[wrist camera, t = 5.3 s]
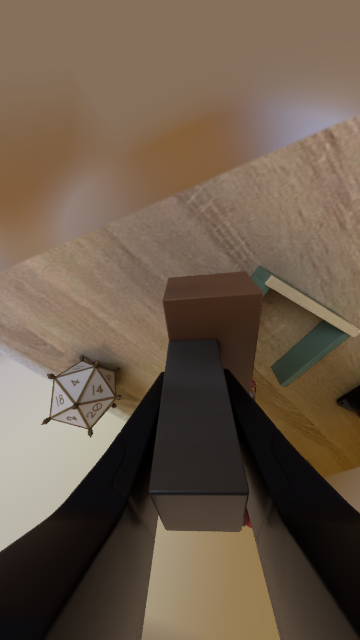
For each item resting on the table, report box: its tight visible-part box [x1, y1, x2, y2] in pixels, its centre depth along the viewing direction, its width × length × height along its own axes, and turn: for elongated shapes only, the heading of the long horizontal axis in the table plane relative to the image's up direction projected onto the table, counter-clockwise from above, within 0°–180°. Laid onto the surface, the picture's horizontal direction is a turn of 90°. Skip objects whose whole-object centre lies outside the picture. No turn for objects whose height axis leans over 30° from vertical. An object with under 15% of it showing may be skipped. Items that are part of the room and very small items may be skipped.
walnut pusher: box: [149, 272, 263, 532], centre depth 9 cm, size 8×4×9 cm, turn 6°
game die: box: [42, 355, 122, 437], centre depth 24 cm, size 9×8×10 cm
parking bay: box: [251, 266, 360, 387], centre depth 21 cm, size 11×10×3 cm
